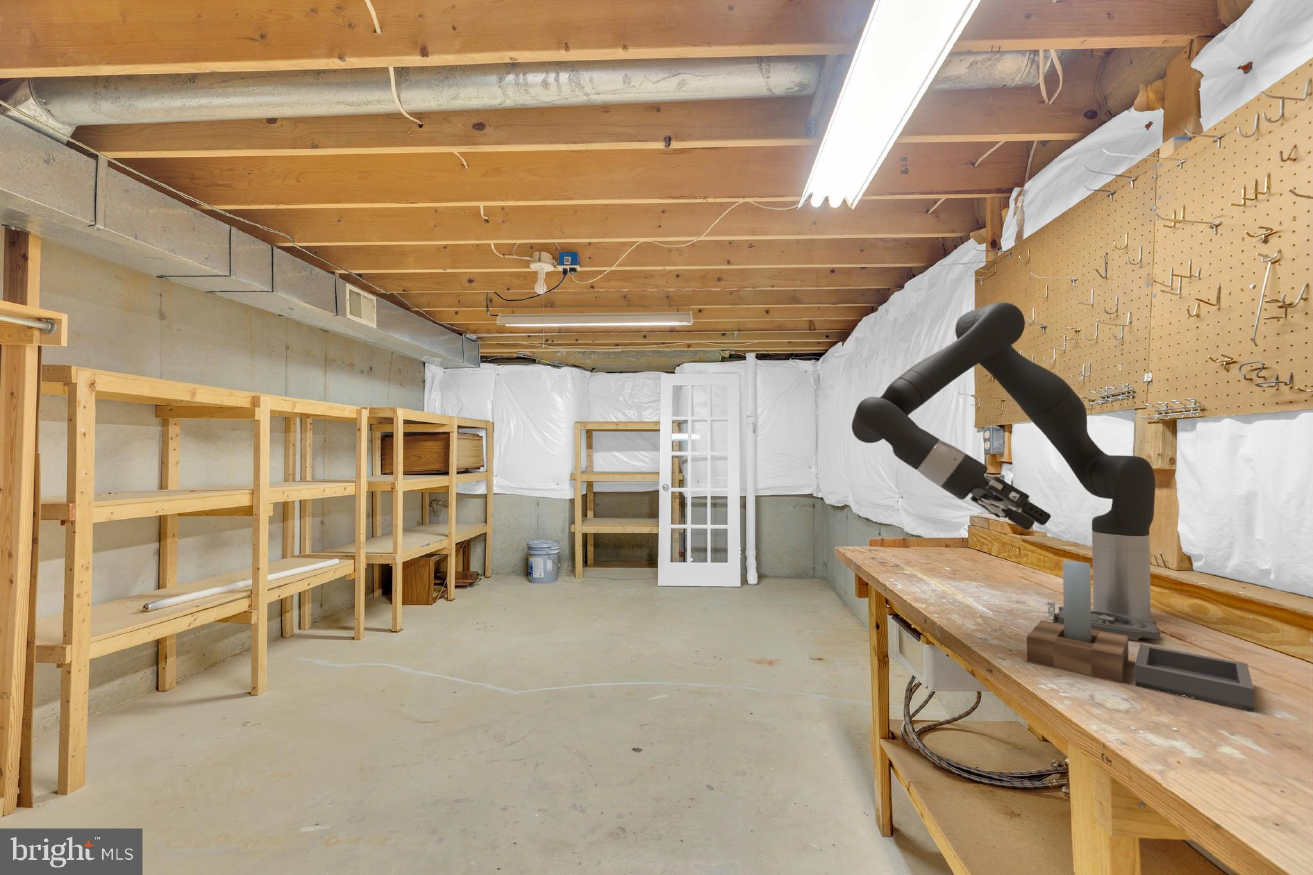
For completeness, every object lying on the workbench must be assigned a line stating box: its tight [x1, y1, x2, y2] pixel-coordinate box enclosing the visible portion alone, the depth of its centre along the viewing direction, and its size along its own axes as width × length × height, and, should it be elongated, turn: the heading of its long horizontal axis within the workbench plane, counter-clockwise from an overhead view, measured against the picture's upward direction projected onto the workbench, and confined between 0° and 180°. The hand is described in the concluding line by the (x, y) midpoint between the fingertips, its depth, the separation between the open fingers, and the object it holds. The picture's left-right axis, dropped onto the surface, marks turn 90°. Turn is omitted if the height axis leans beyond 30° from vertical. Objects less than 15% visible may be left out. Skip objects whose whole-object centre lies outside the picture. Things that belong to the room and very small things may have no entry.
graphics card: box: [1047, 601, 1161, 641], centre depth 107 cm, size 17×4×12 cm
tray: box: [1134, 643, 1255, 713], centre depth 83 cm, size 12×12×3 cm
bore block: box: [1026, 619, 1129, 683], centre depth 92 cm, size 12×12×4 cm
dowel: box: [1062, 560, 1092, 643], centre depth 92 cm, size 4×4×16 cm
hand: (1039, 523), depth 97 cm, fingers open, 8 cm apart
